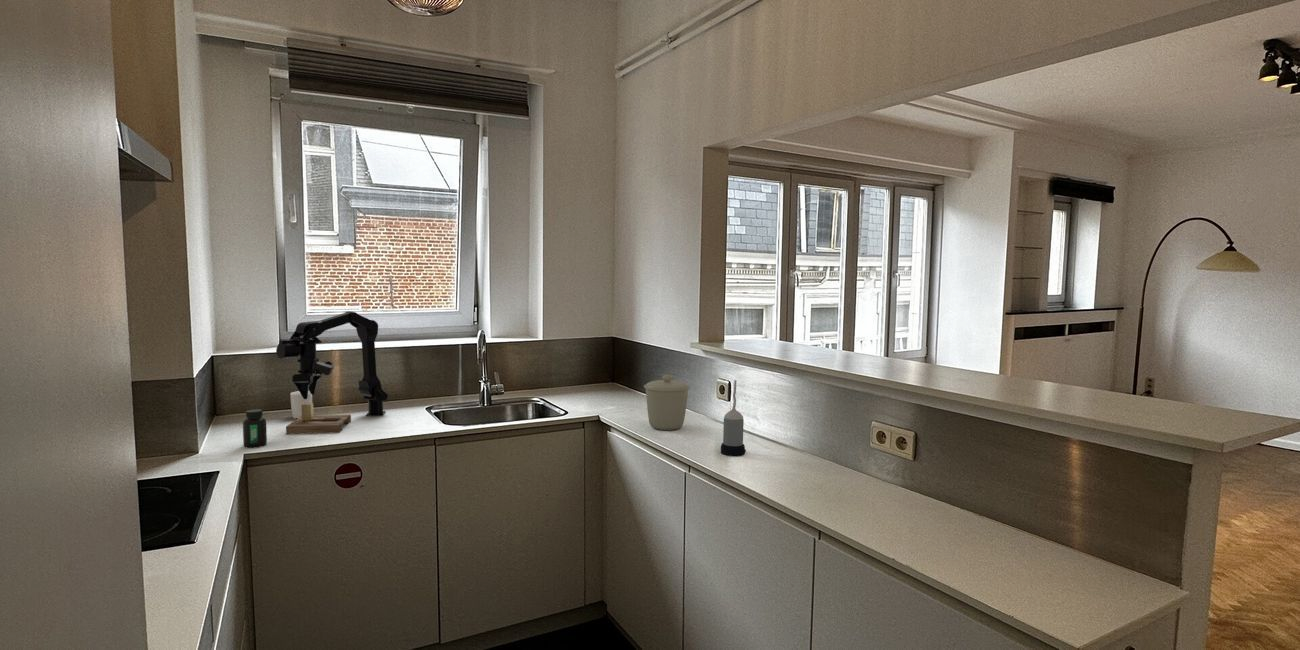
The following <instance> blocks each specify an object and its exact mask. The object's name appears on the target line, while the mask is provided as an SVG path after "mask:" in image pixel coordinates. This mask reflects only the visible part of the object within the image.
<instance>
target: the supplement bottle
mask: <svg viewBox="0 0 1300 650" xmlns="http://www.w3.org/2000/svg"><path fill="white" fill-rule="evenodd" d="M263 416H264V413H263V410H262V409H258V408H257V409H250V410H249V409H248V410H246V411H245V419H244V420H243V421H242V436H243V437H242V440H243V447H244V448H246V447H247V448H246V449H254V447H257V448H261V447H260V446H262V447H264V445H265V446H267V443H268V438H267V436H268V435H267V433H268V432H267V419H266V418H265V417H263Z"/></svg>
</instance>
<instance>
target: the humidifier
mask: <svg viewBox="0 0 1300 650" xmlns="http://www.w3.org/2000/svg"><path fill="white" fill-rule="evenodd" d="M733 382H734V383H733V392H732V394H730V397H729V398H731V396H732V399H733V405H732V407H731V404H732V403H731V399H730V405H729V407H730V408H729V409H730V410H729V411H727V412H726V413H725V414H724V416H723V428H722V431H723V436H722V443H721V445H720V454H721V455H724V456H727V457H742V456H744V455H745V453H746V452H747V450H746V445H745V444H744V422H745V421H744V416H743V415H742V413H741V412H740V411H738V410H737V409H736V407H737V406H736V405H737V396H736V395H737V380H736V379H735V380H733Z"/></svg>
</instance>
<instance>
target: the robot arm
mask: <svg viewBox="0 0 1300 650" xmlns="http://www.w3.org/2000/svg"><path fill="white" fill-rule="evenodd" d="M346 324H350V326H352V327H354V328H355V329H356V334H357V336H358V337H359V340H360V341H361V351H362V354H361V356H362V368H363V369H362V371H363V376H362V379H361V380H358V391H359V392H360V394H361V395H362V396H363V398H364V400H367V405H368V407H367V409H368V410H367V411H368V412H367V413H366V414H365V416H367V417H368V416H371V417H372V416H384V415H385V413H386V410H384V401H386V400H387V399H388V397H389V394H388V393H387V392H385V391H384V390H383V387H382V384H381V380H380V378H379V377H378V374H377V359H376V357H377V356H376V345H375V344H376V343H375V341H376V339H377V336H378V335H379V334H378V333H379V324H378V322H377V321H376V320H374V319H369V318H367V317H365V316H362V315H361V314H359V313H357V312H356V311H348V310H347V311H345V312H343V313H340V314H337V315H334V316H333V315H332V316H331V317H328V318H324V319H321V320H312V321H302V322H299V323H298V324H297V325H296V327H295V331H294V332H293V334H292V335H291V336H290V338H289V339H280V340H279V343H278V344H277V346H276V349H275V350H276V353H275V354H276V356H277V357H278V358H279V359H281V360H282V359H289V358H290V359H291V358H292V359H293V358H299V359H297V363H299V370H297V372H296V373H294V374H293V375H292V376H291V382H292V383H293V384H294V385H295V387H296V388H297V389H298V391H299V392H300V393H301V395H302V397H303V399H307V397H308V391H310V393H311V394H312V396H313V395H315V393H316V389H317V386H318V382H319V380H320V379H321V378H322V377H323V375H325V376H330V375H331V374H332V373H333V370H334V365H333V362H332V361H331V360H327V361H325V362H321V361H320V359H319V357H317V344H322V343H323V342H322V340H321V339H319V338H318V336H320V335H322V334H323V333H324V332H326V331H328V330H331V329H333V328H334V329H335V328H337V327H340V326H343V325H346Z"/></svg>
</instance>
